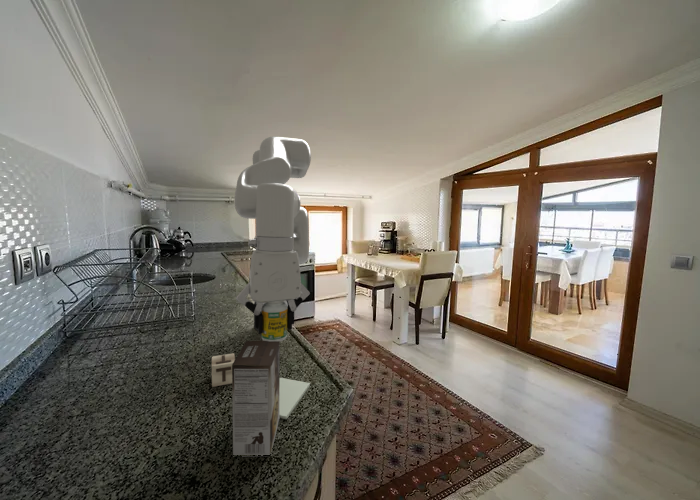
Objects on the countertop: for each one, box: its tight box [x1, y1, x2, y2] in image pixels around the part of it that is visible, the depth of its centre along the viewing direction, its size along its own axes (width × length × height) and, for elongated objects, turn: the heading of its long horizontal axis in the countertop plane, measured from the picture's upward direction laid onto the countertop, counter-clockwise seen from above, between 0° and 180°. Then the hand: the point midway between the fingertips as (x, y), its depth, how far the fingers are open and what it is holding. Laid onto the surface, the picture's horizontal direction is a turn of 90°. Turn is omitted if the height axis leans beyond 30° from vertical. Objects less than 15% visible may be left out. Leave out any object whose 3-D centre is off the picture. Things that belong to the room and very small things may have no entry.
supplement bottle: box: [260, 301, 288, 342], centre depth 62 cm, size 5×5×10 cm
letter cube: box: [211, 353, 236, 388], centre depth 70 cm, size 5×5×5 cm
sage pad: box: [279, 377, 311, 420], centre depth 64 cm, size 12×12×1 cm
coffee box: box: [231, 339, 281, 457], centre depth 52 cm, size 9×6×16 cm
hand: (274, 328), depth 63 cm, fingers closed on supplement bottle, 5 cm apart
